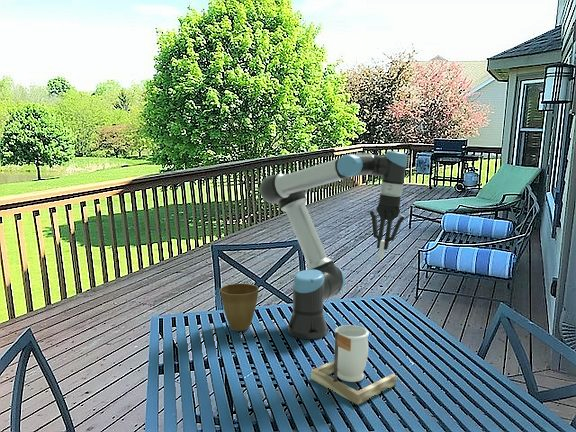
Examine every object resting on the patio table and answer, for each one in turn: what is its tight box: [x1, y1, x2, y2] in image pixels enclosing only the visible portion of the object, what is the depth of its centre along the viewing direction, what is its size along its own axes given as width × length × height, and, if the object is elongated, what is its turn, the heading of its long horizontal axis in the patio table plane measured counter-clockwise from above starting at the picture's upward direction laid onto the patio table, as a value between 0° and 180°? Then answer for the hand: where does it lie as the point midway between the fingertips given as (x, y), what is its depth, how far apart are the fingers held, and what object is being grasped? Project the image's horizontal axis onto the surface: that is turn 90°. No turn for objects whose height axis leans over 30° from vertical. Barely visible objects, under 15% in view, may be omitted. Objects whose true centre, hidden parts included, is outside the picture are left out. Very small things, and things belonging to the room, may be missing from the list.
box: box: [310, 331, 397, 406], centre depth 143 cm, size 18×19×18 cm
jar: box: [333, 324, 370, 383], centre depth 147 cm, size 11×10×15 cm
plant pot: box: [219, 283, 260, 332], centre depth 185 cm, size 15×15×16 cm
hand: (380, 257), depth 174 cm, fingers closed
